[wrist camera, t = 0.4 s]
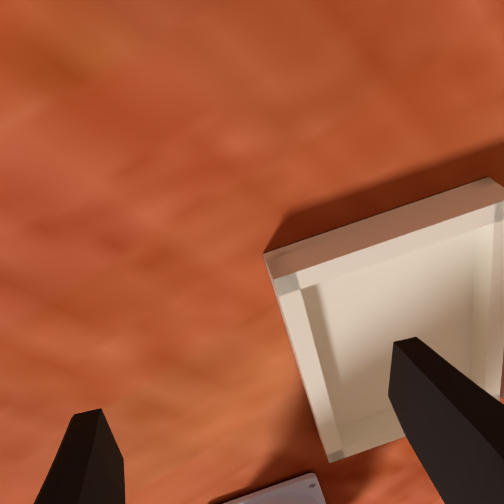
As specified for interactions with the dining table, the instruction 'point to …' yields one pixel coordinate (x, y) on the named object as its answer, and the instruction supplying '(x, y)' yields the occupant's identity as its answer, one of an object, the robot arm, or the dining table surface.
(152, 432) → the dining table surface
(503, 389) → the grey peg base
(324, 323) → the tray
